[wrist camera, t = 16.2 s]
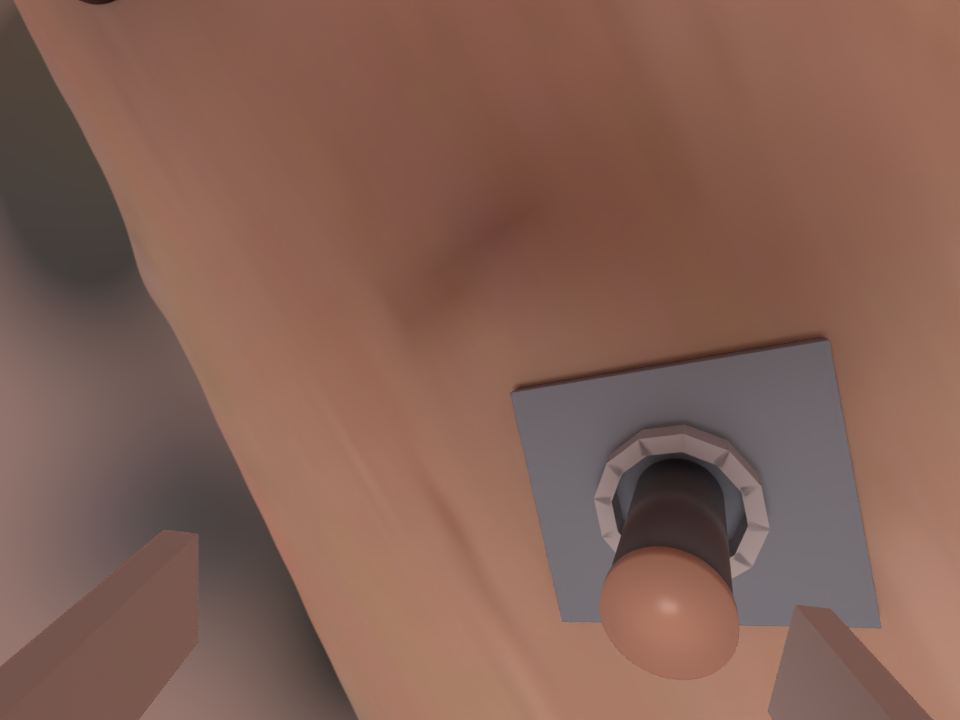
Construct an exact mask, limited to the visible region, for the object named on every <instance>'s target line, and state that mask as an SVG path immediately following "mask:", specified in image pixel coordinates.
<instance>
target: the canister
mask: <svg viewBox="0 0 960 720" xmlns="http://www.w3.org/2000/svg"><path fill="white" fill-rule="evenodd" d="M599 610H600V617H601V621H602V624H603V627H604V629H605V631H606V633H607V635H608V637H609V639H610V640H611V642H612V643H613V644H614V646H615V647H616V648H617V649H618V650H619V651H620V653H621V654H622V655H624V656H625V657H626V658H627V659H628V660H629V661H631V662H632V663H633V664H635V665H636V666H638V667H640V668H641V669H643V670H645V671H647V672H649V673H652V674H654V675H657V676H660V677H664V678H668V679H676V680H692V679H698V678H702V677H706V676H708V675H710V674H713V673H714V672H716V671H718V670H719V669H721V668H722V667H723V666H724V665H725V664H726V663H727V662H728V661H729V660H730V659H731V657H732V655H733V654H734V652H735V649H736V647H737V644H738V639H739V621H738V612H737V606H736V602H735V599H734V597H733V588H732V577H731V567H730V556H729V546H728V535H727V524H726V514H725V503H724V495H723V492H722V489H721V487H720V484H719V483H718V481H717V480H716V478H715V477H714V476H713V475H712V474H711V473H710V472H709V471H708V470H707V469H705V468H704V467H702V466H701V465H699V464H697V463H695V462H692V461H689V460H684V459H665V460H662V461H658V462H656V463H654V464H652V465H651V466H649V467H648V468H647V469H646V470H645V471H644V472H643V473H642V474H641V476H640V477H639V479H638V482H637V485H636V488H635V491H634V495H633V498H632V501H631V504H630V508H629V511H628V514H627V517H626V521H625V524H624V527H623V531H622V534H621V537H620V540H619V544H618V547H617V550H616V554H615V557H614V560H613V563H612V567H611V568H610V570H609V571H608V573H607V576H606V578H605V581H604V584H603V587H602V591H601V594H600V600H599Z"/></svg>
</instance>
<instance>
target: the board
mask: <svg viewBox="0 0 960 720" xmlns="http://www.w3.org/2000/svg"><path fill="white" fill-rule="evenodd" d="M510 394H511V399H512V403H513V407H514V412H515V416H516V421H517V425H518V429H519V434H520V438H521V442H522V447H523V451H524V456H525V460H526V464H527V469H528V473H529V478H530V482H531V486H532V491H533V495H534V500H535V504H536V508H537V513H538V517H539V522H540V526H541V530H542V535H543V539H544V544H545V548H546V552H547V557H548V561H549V566H550V570H551V574H552V579H553V583H554V588H555V592H556V596H557V601H558V605H559V610H560V614H561V618H562V622H601V623H602V621H601V617H600V610H599V600H600V594H601V591H602V587H603V584H604V581H605V578H606V576H607V573H608V571H609V570H610V568H611V567H612V563H613V560H614V557H615V554H616V550H617V547H618V544H619V540H620V537H621V534H622V531H623V527H624V524H625V521H626V517H627V514H628V511H629V508H630V504H631V501H632V498H633V495H634V491H635V488H636V485H637V482H638V479H639V477H640V476H641V474H642V473H643V472H644V471H645V470H646V469H647V468H648V467H649V466H651V465H652V464H654V463H656V462H658V461H662V460H665V459H684V460H689V461H692V462H695V463H697V464H699V465H701V466H702V467H704V468H705V469H707V470H708V471H709V472H710V473H711V474H712V475H713V476H714V477H715V478H716V480H717V481H718V483H719V484H720V487H721V489H722V492H723V495H724V503H725V514H726V524H727V535H728V546H729V556H730V567H731V577H732V588H733V597H734V599H735V602H736V606H737V612H738V621H739V625H746V626H790V623H791V619H792V616H793V612H794V608H795V605H803V606H812V607H820V608H829V609H831V610H832V611H833V612H834V613H835V614H836V615H837V616H838V617H839V618H840V619H841V620H842V621H843V623H844V624H845V625H846V626H847V627H848V628H881V622H880V617H879V611H878V606H877V600H876V595H875V589H874V584H873V578H872V573H871V567H870V562H869V556H868V551H867V545H866V540H865V534H864V529H863V523H862V518H861V512H860V507H859V501H858V495H857V490H856V484H855V479H854V473H853V468H852V462H851V457H850V451H849V446H848V440H847V435H846V429H845V424H844V418H843V413H842V407H841V402H840V396H839V391H838V385H837V380H836V374H835V369H834V363H833V358H832V352H831V347H830V341H829V340H828V339H826V338H825V337H824V338H818V339H812V340H806V341H800V342H794V343H788V344H782V345H776V346H770V347H764V348H758V349H752V350H746V351H741V352H735V353H729V354H723V355H717V356H711V357H705V358H699V359H693V360H687V361H681V362H675V363H669V364H663V365H657V366H651V367H645V368H639V369H633V370H627V371H621V372H615V373H609V374H603V375H597V376H592V377H586V378H580V379H574V380H568V381H562V382H556V383H550V384H544V385H538V386H532V387H526V388H520V389H516V390H514V391H512V392H511V393H510Z"/></svg>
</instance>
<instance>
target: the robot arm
mask: <svg viewBox="0 0 960 720" xmlns="http://www.w3.org/2000/svg"><path fill="white" fill-rule="evenodd" d="M80 1H83V2H85V3H89V4H102V3H106V2H109V1H112V0H80ZM197 643H198V534H195V533H187V532H179V531H170V530H163V531H162V532H161V533H160V534H158V535H157V536H156V537H155V538H154V539H152V540H151V541H150V542H149V543H148V544H146V545H145V546H144V547H143V548H142V549H140V550H139V551H138V552H137V553H136V554H134V555H133V556H132V557H131V558H130V559H128V560H127V561H126V562H125V563H124V564H123V565H121V566H120V567H119V568H118V569H116V570H115V571H114V572H113V573H112V574H111V575H109V576H108V577H107V578H106V579H105V580H103V581H102V582H101V583H100V584H98V585H97V586H96V587H95V588H94V589H93V590H92V591H90V592H89V593H88V594H87V595H86V596H84V597H83V598H82V599H81V600H79V601H78V602H77V603H76V604H75V605H73V606H72V607H71V608H70V609H69V610H67V611H66V612H65V613H64V614H63V615H61V616H60V617H59V618H58V619H57V620H56V621H54V622H53V623H52V624H51V625H49V626H48V627H47V628H46V629H45V630H43V631H42V632H41V633H40V634H39V635H37V636H36V637H35V638H34V639H33V640H31V642H29V643H28V644H27V645H26V646H24V647H23V648H22V649H21V650H19V651H18V652H17V653H16V654H15V655H14V656H13V657H11V658H10V659H9V660H8V661H6V662H5V663H4V664H3V665H2V666H0V720H139V719H140V717H141V716H142V715H143V714H144V712H145V711H146V710H147V708H148V707H149V706H150V704H151V703H152V702H153V701H154V699H155V698H156V697H157V695H158V694H159V692H160V691H161V690H162V689H163V688H164V686H165V685H166V684H167V682H168V681H169V679H170V678H171V677H172V676H173V675H174V673H175V672H176V671H177V669H178V668H179V667H180V665H181V664H182V663H183V661H184V660H185V659H186V658H187V656H188V655H189V653H190V652H191V651H192V650H193V648H194V647H195V646H196V644H197ZM768 713H769V714H770V716H771V718H772V719H773V720H933V719H932V718H931V717H930V716H929V715H928V714H927V713H926V711H925V710H924V709H923V708H922V707H921V706H920V705H919V704H918V703H917V702H916V701H915V700H914V698H913V697H912V696H911V695H910V694H909V693H908V692H907V691H906V690H905V689H904V688H903V687H902V685H901V684H900V683H899V682H898V681H897V680H896V679H895V678H894V677H893V676H892V675H891V674H890V672H889V671H888V670H887V669H886V668H885V667H884V666H883V665H882V664H881V663H880V662H879V661H878V659H877V658H876V657H875V656H874V655H873V654H872V653H871V652H870V651H869V650H868V649H867V648H866V646H865V645H864V644H863V643H862V642H861V641H860V640H859V639H858V638H857V637H856V636H855V634H854V633H853V632H852V631H851V630H850V629H849V628H848V627H847V626H846V625H845V624H844V623H843V621H842V620H841V619H840V618H839V617H838V616H837V615H836V614H835V613H834V612H833V611H832V610H831V609H829V608H820V607H812V606H803V605H795V608H794V612H793V616H792V619H791V623H790V627H789V631H788V635H787V639H786V643H785V646H784V650H783V654H782V658H781V662H780V666H779V669H778V673H777V677H776V681H775V685H774V689H773V693H772V696H771V700H770V704H769V708H768Z"/></svg>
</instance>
